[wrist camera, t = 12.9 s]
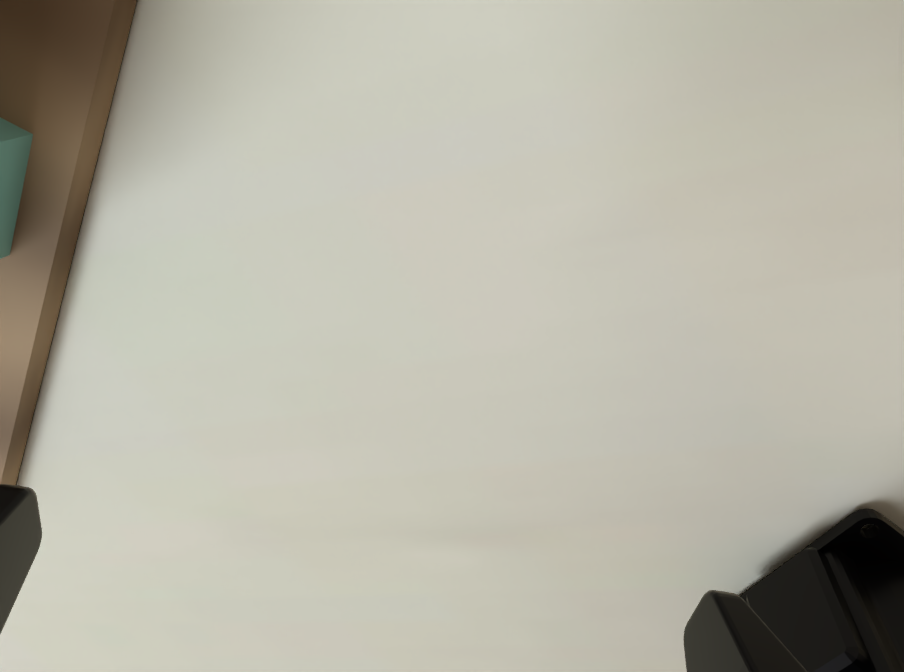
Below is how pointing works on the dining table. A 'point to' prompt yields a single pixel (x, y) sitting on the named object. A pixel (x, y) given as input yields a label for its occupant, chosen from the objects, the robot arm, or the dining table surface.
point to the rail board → (49, 178)
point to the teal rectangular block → (11, 178)
